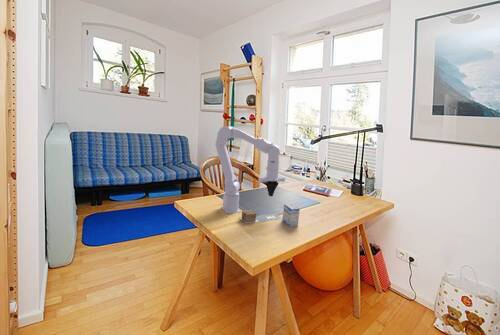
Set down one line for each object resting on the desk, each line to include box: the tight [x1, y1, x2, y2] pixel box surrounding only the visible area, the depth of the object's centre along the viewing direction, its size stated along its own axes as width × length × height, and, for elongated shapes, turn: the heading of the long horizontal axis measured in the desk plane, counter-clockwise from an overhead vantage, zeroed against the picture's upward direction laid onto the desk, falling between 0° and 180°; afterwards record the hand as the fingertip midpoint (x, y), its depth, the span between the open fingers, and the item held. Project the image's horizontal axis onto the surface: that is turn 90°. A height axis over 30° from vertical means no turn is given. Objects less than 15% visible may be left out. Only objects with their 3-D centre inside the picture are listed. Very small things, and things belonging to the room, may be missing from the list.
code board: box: [237, 213, 283, 225], centre depth 135 cm, size 8×21×1 cm, turn 117°
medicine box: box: [281, 203, 300, 228], centre depth 130 cm, size 8×4×9 cm, turn 21°
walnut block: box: [241, 209, 257, 223], centre depth 131 cm, size 5×5×4 cm
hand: (270, 195), depth 139 cm, fingers closed
